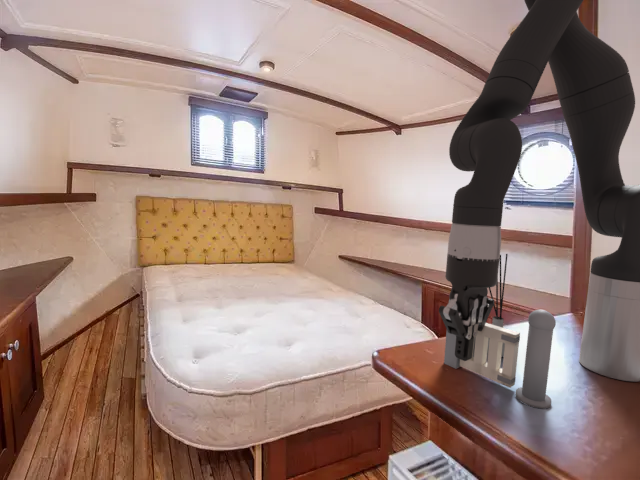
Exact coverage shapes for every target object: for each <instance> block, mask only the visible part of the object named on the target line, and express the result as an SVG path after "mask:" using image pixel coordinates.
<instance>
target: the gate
mask: <svg viewBox="0 0 640 480" xmlns="http://www.w3.org/2000/svg"><path fill="white" fill-rule="evenodd" d="M520 336H521V332H518V331H514V330H512V329H508V328H506V327H503V328H502V327H499V326H495V325H492V323H488V322H486V323H485V325H484V328H483V330H482V331H477V336H476V340H475V351H474V357H473V353H472V358H471V359H469V360H467V361H463V360H461V359H460V366H461V368H463V369H466V370H467V371H470V372H473V373H475V374H476V375H477V374H478V375H480V376H482V377H484V378H487V379H489V380H491V381H494V382H496V383H498V384H501V385H503V386H505V387H507V388H512V387H514V386H515V384H516V378H517V377H516V374H517V365H518V357H519V346H520V341H521V340H520V338H521V337H520ZM489 338H490V341H489V351H488V353H487V350H488V339H489ZM503 343H505V348H504V356H503V359H502V356H501V355H502V345H503ZM473 348H474V343H473ZM502 360H503V361H502ZM501 363H502V367H501Z"/></svg>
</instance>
